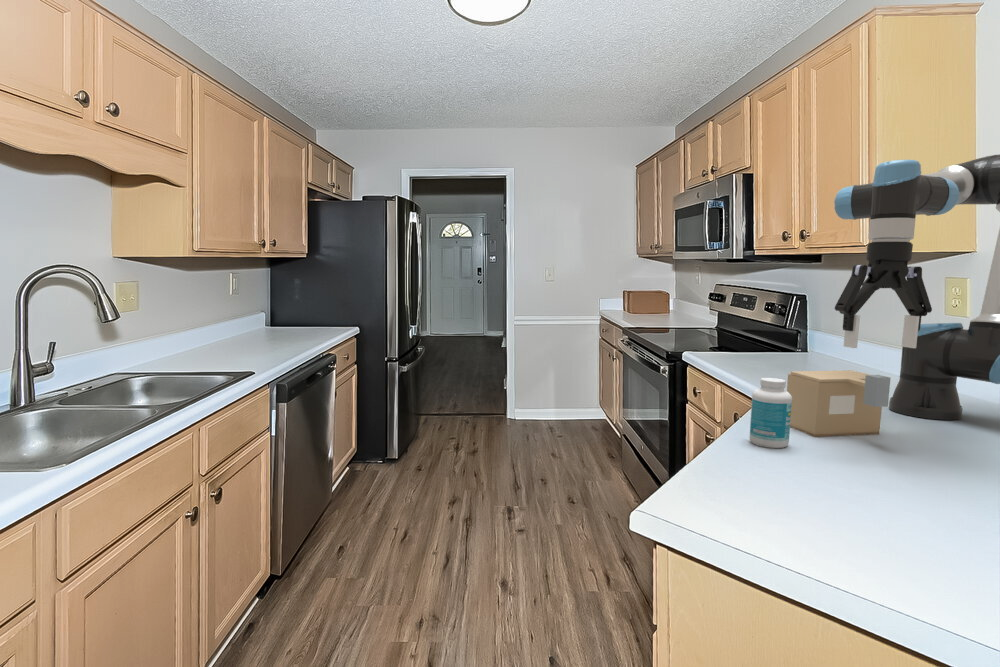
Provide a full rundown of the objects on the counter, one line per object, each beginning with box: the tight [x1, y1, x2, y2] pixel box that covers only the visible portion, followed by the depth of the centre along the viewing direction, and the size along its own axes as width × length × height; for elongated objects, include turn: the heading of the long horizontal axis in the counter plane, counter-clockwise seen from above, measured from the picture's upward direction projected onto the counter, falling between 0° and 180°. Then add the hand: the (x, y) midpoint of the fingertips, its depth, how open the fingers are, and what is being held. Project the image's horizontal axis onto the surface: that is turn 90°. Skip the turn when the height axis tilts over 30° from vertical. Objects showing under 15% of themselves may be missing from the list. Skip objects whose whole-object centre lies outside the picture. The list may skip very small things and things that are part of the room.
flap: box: [790, 370, 891, 408], centre depth 125 cm, size 16×18×6 cm
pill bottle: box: [749, 377, 792, 449], centre depth 119 cm, size 8×7×14 cm
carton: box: [786, 373, 883, 438], centre depth 130 cm, size 16×10×12 cm, turn 100°
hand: (879, 347), depth 117 cm, fingers open, 13 cm apart
